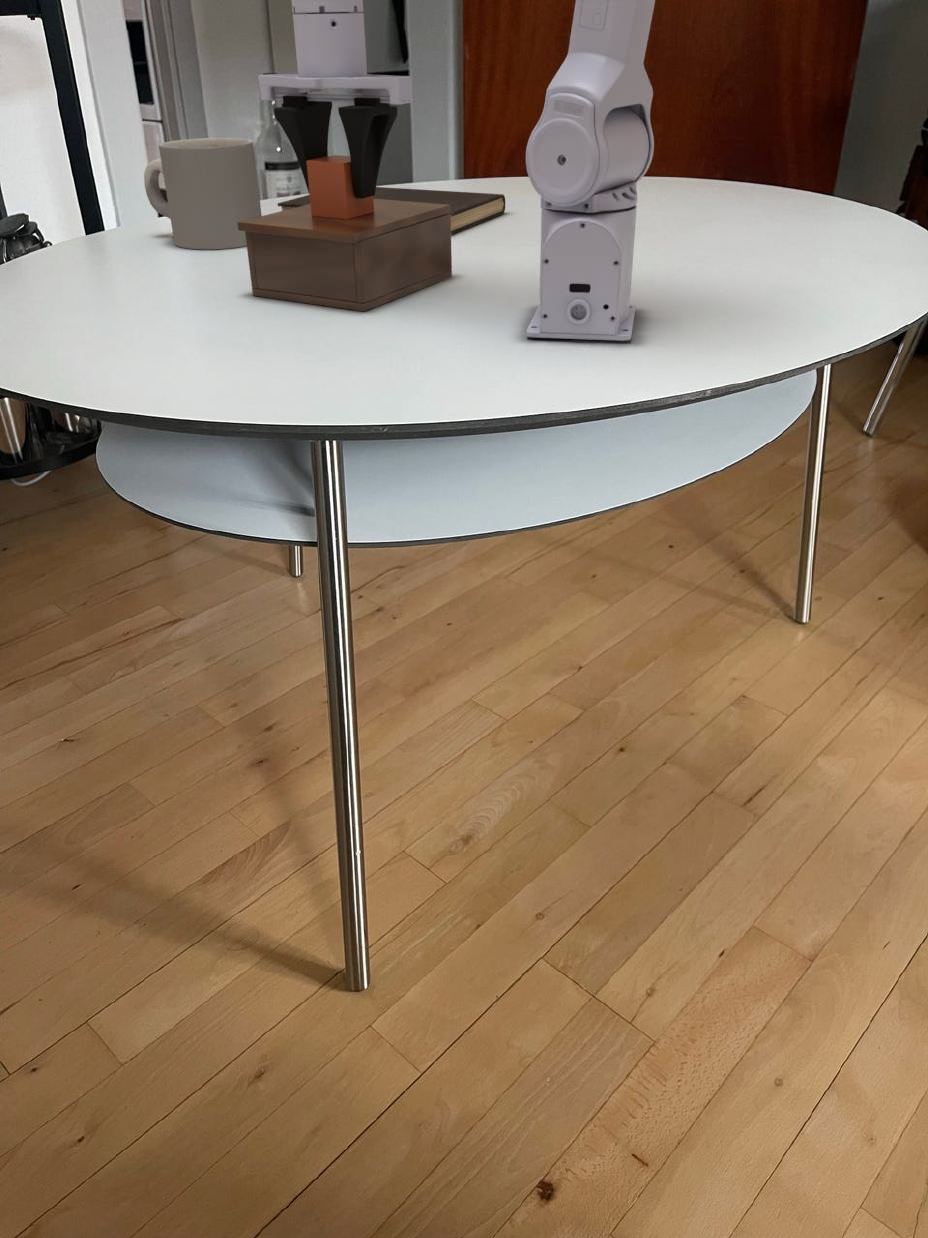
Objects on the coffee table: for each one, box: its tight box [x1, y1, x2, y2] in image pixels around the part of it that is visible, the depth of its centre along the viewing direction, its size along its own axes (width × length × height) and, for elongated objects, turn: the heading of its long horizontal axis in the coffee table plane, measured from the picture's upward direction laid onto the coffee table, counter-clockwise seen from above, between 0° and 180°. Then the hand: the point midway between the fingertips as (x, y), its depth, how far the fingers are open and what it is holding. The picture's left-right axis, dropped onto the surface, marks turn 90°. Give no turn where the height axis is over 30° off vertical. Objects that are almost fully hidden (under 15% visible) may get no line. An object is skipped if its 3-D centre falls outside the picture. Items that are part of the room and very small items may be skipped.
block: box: [307, 154, 374, 220], centre depth 87 cm, size 4×4×4 cm
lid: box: [237, 199, 451, 243], centre depth 88 cm, size 15×12×1 cm
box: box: [245, 213, 453, 312], centre depth 90 cm, size 14×12×6 cm
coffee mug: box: [143, 137, 263, 250], centre depth 110 cm, size 13×10×10 cm
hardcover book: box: [277, 186, 506, 236], centre depth 121 cm, size 16×23×2 cm
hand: (341, 194), depth 87 cm, fingers open, 4 cm apart
